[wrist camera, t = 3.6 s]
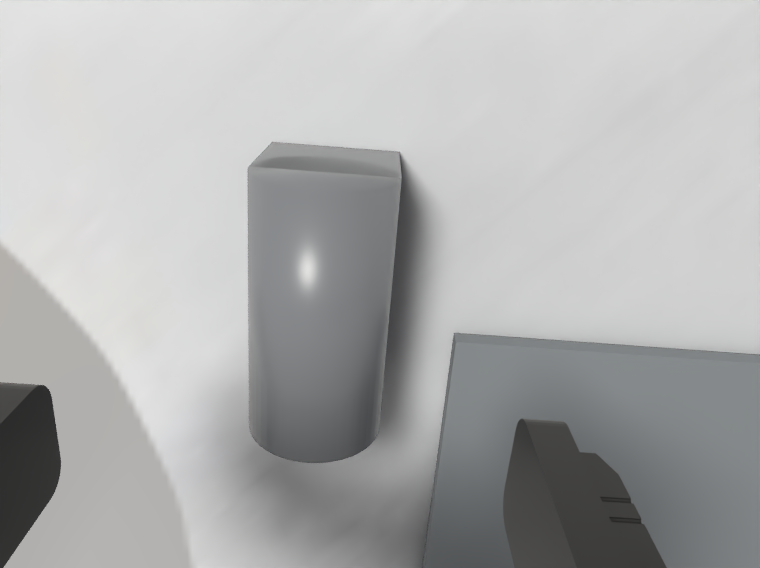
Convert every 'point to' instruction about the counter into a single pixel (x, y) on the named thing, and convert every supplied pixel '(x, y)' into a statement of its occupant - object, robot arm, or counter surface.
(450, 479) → the slate mat
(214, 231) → the counter surface
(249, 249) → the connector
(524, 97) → the counter surface
